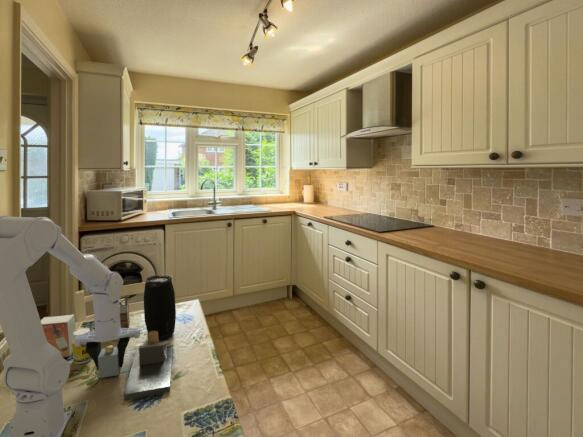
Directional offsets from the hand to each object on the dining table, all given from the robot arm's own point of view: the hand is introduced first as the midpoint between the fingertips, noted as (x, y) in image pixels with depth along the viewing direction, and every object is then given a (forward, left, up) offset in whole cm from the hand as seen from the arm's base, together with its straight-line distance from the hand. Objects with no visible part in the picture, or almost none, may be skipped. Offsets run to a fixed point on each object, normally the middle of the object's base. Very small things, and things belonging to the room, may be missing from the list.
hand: (110, 366), depth 84 cm
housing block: (0, 0, -1) cm, 1 cm away
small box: (+16, +17, -2) cm, 23 cm away
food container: (+27, +3, -2) cm, 27 cm away
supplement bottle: (+10, +9, -2) cm, 14 cm away
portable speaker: (+18, -11, -2) cm, 21 cm away
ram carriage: (+2, -10, -1) cm, 10 cm away
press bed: (-2, -10, -2) cm, 10 cm away
